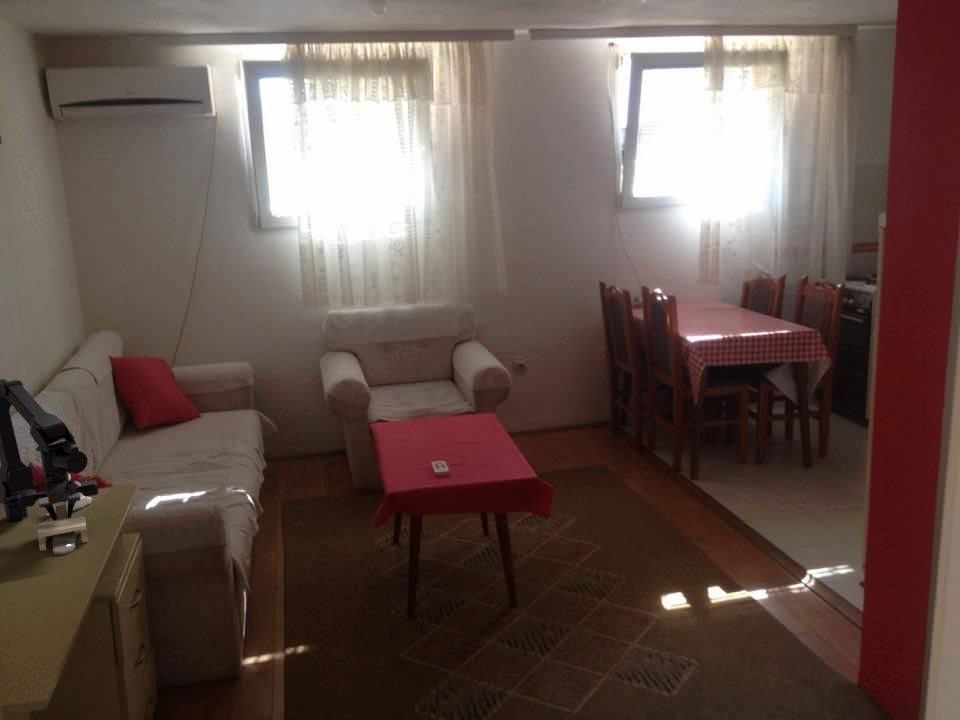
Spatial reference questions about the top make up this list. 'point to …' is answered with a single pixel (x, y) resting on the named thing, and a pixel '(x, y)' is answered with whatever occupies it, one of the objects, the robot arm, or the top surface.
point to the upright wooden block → (61, 514)
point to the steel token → (64, 547)
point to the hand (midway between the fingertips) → (63, 524)
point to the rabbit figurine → (80, 503)
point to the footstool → (61, 529)
